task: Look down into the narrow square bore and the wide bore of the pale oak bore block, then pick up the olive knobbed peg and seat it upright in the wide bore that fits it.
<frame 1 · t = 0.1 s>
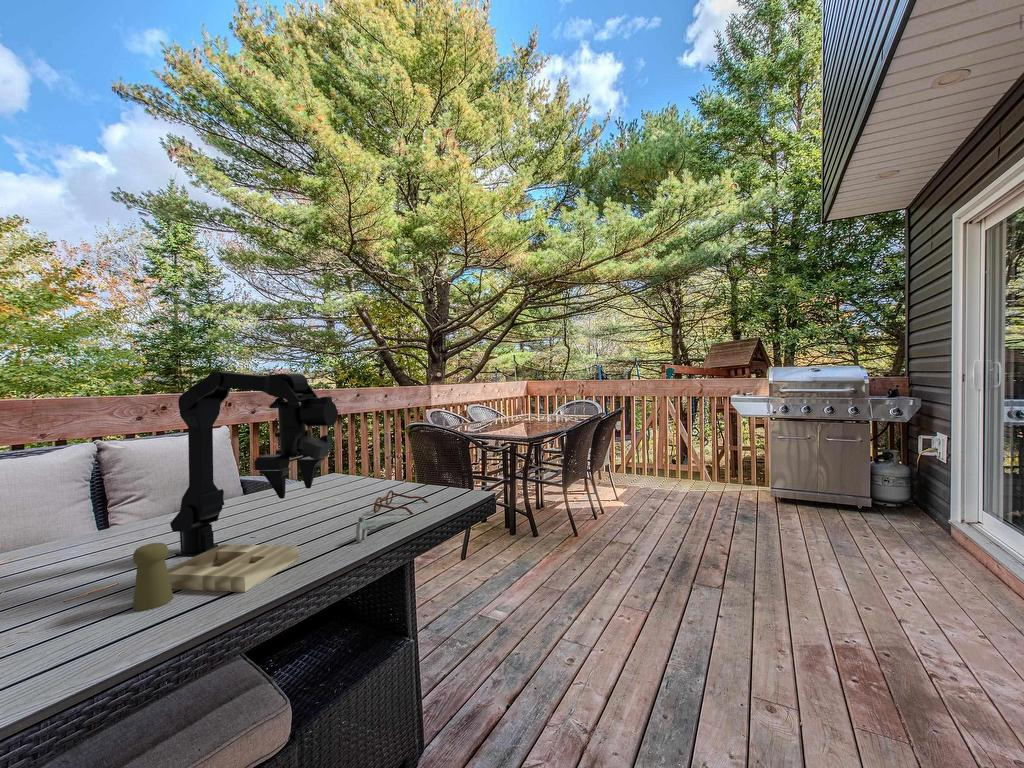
hand: (295, 493, 107), 15 cm above the table, tool pointing down, fingers open, 9 cm apart
glasses: (401, 510, 143), on the table
olive knobbed peg: (153, 604, 86), on the table
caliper: (381, 531, 123), on the table
bore block: (232, 572, 98), on the table
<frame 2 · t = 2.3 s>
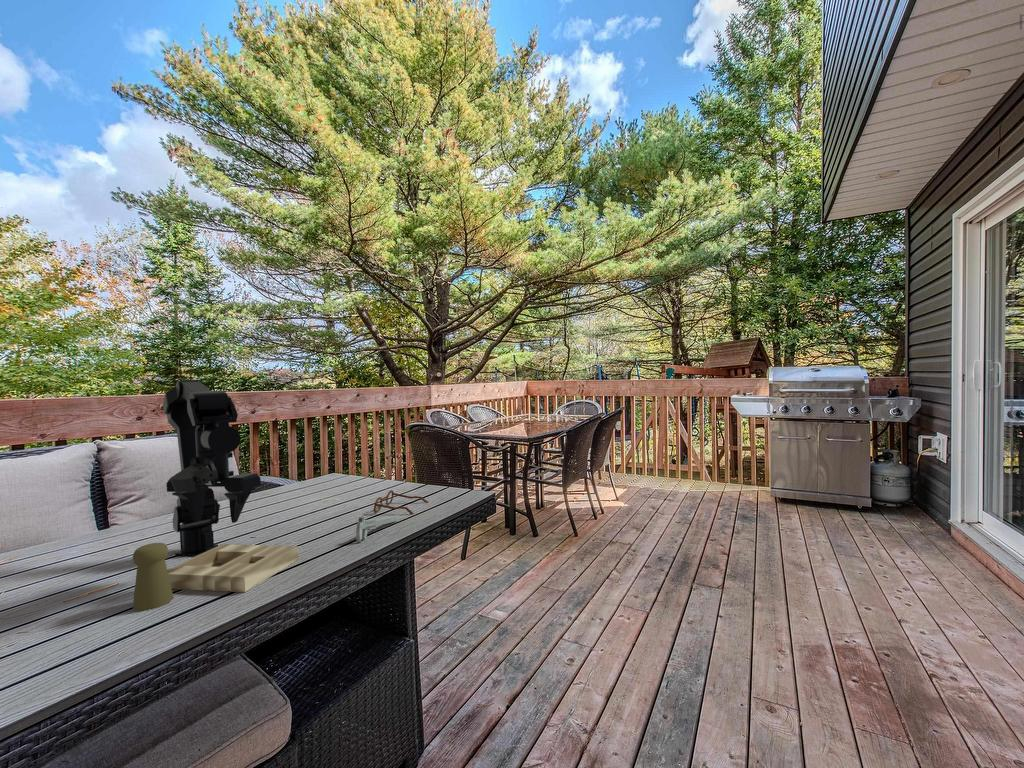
hand: (216, 522, 99), 11 cm above the table, tool pointing down, fingers open, 9 cm apart
nothing on the table moved.
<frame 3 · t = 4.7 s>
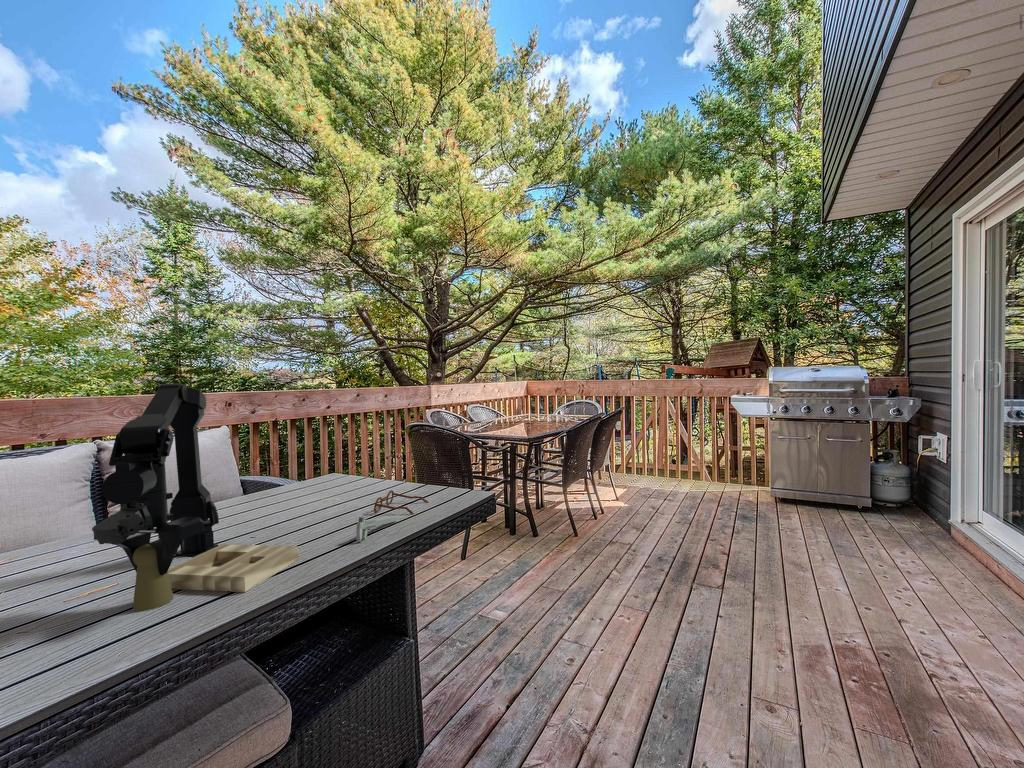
hand: (152, 573, 86), 6 cm above the table, tool pointing down, fingers closed on olive knobbed peg, 5 cm apart
olive knobbed peg: (153, 603, 86), on the table, touching gripper
everything else where it was.
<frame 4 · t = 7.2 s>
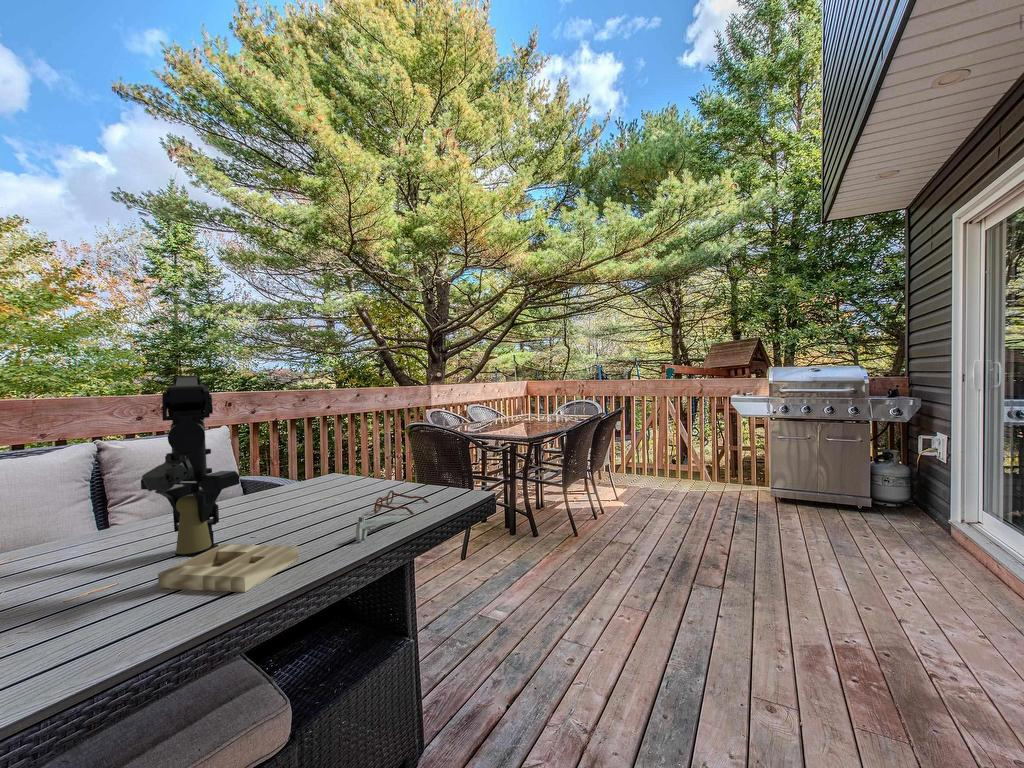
hand: (192, 521, 94), 13 cm above the table, tool pointing down, fingers closed on olive knobbed peg, 5 cm apart
olive knobbed peg: (194, 549, 94), point 7 cm above the table, touching gripper
everything else where it was.
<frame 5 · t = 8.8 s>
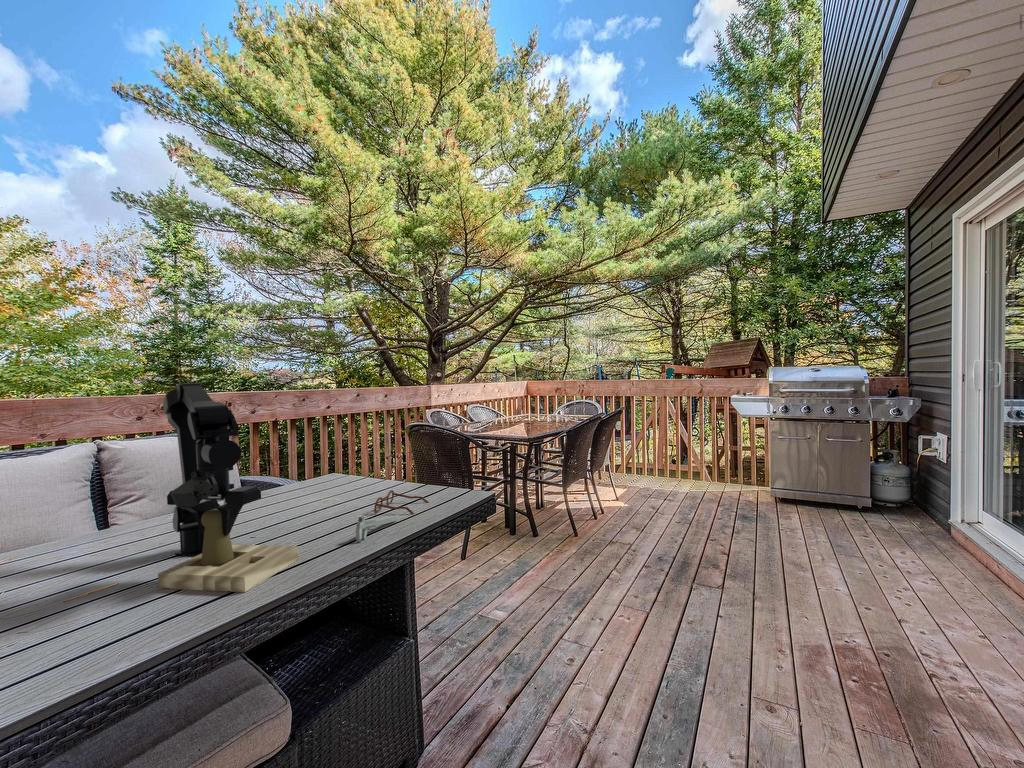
hand: (216, 534, 99), 8 cm above the table, tool pointing down, fingers closed on olive knobbed peg, 5 cm apart
olive knobbed peg: (217, 561, 99), point 2 cm above the table, touching gripper
everything else where it was.
when the fingers open (7 cm above the table, at t = 9.9 s): olive knobbed peg drops 1 cm, resting on bore block.
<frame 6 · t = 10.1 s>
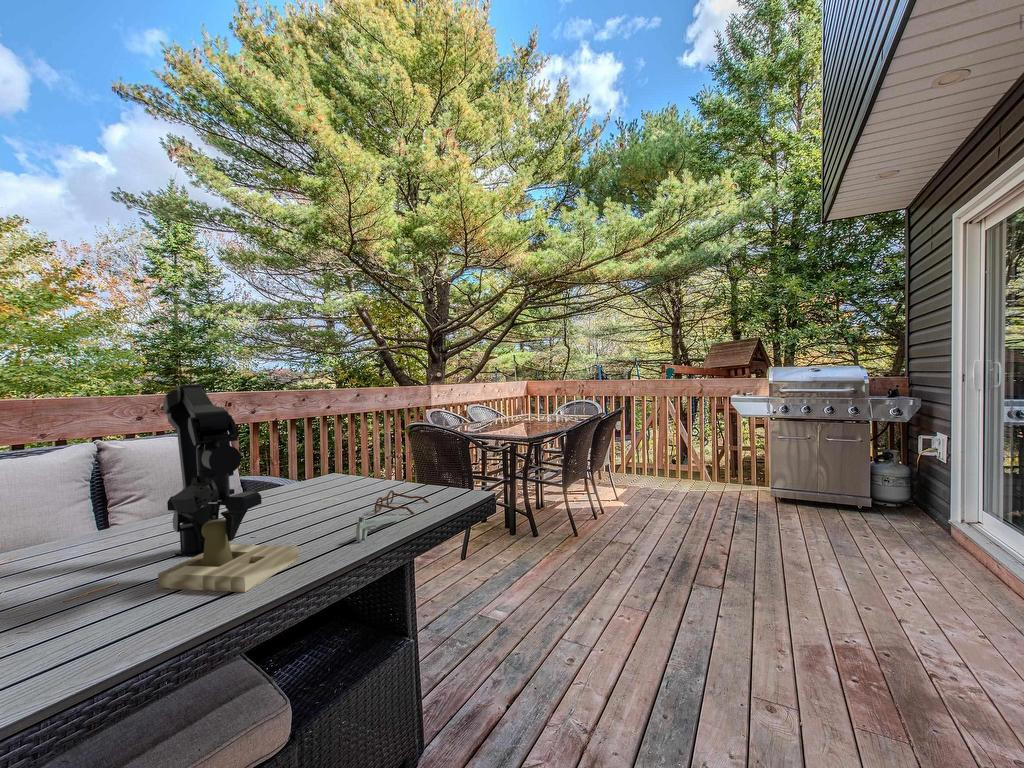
hand: (216, 540, 99), 7 cm above the table, tool pointing down, fingers open, 7 cm apart
olive knobbed peg: (218, 571, 99), resting on bore block
everything else where it was.
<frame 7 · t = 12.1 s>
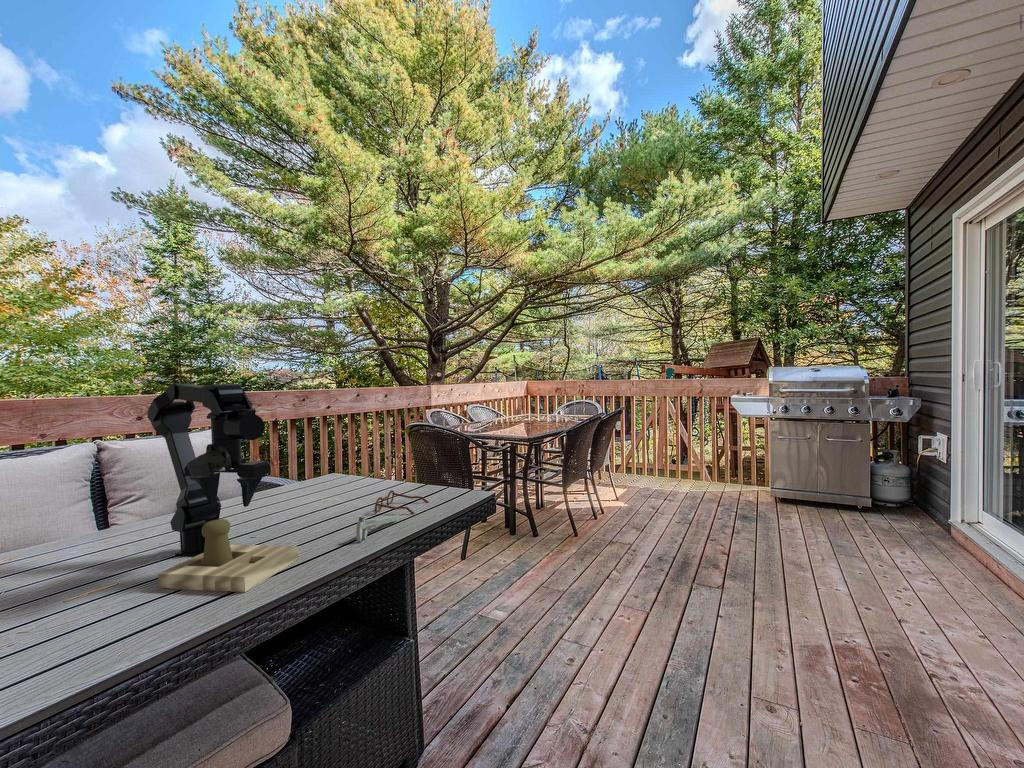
hand: (229, 505, 105), 13 cm above the table, tool pointing down, fingers open, 9 cm apart
nothing on the table moved.
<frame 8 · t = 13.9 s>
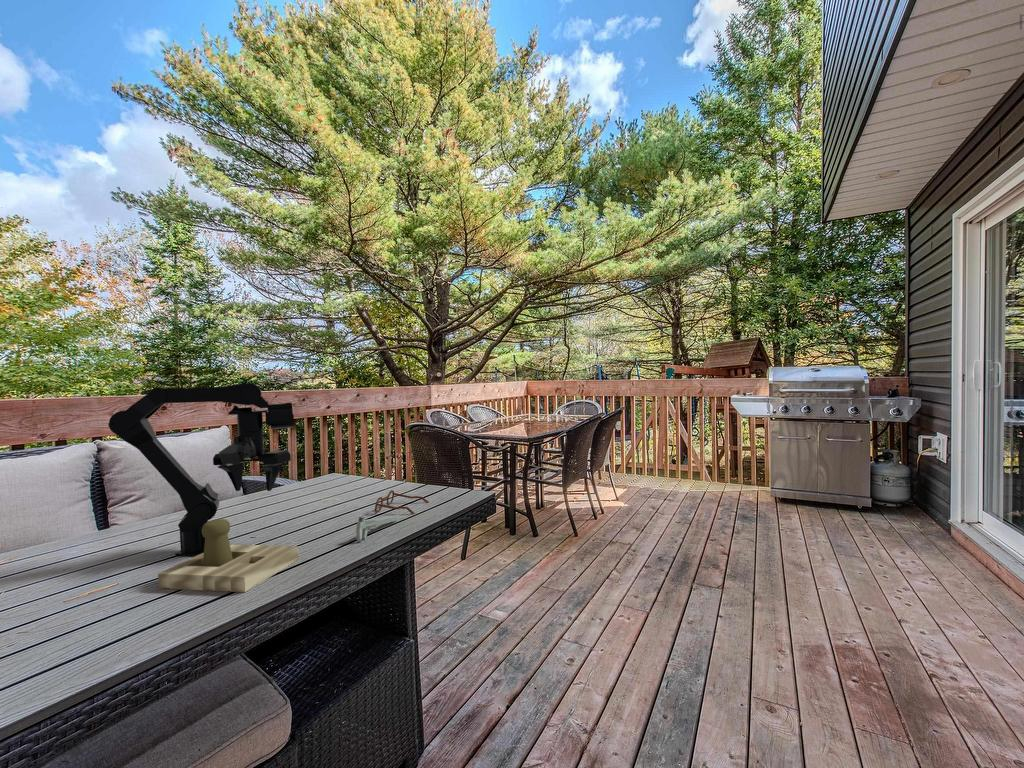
hand: (253, 490, 118), 13 cm above the table, tool pointing down, fingers open, 9 cm apart
nothing on the table moved.
at the end: olive knobbed peg 0.1 cm from the target spot on the bore block, point 0.1 cm above the bore block's base; olive knobbed peg tilted 0° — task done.
